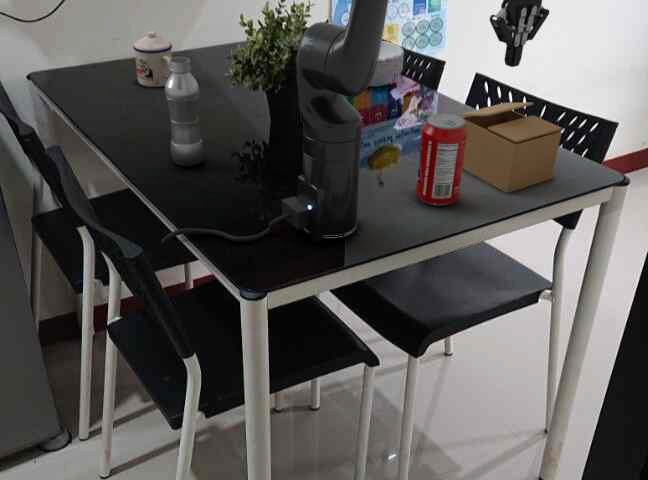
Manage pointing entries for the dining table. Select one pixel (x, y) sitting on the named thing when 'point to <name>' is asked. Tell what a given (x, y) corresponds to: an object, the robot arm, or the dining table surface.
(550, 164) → the carton
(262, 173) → the dining table surface
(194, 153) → the plastic bottle
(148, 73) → the teacup with lid
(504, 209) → the dining table surface
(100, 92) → the dining table surface
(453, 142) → the soda can
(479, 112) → the flap
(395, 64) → the paper bowls
